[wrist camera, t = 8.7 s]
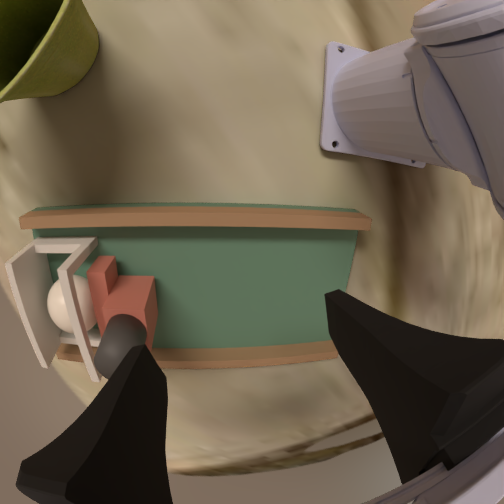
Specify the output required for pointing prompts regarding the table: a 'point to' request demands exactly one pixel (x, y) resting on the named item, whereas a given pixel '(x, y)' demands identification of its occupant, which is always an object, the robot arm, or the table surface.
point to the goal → (36, 294)
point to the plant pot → (44, 47)
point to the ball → (59, 308)
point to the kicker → (120, 312)
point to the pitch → (220, 274)
